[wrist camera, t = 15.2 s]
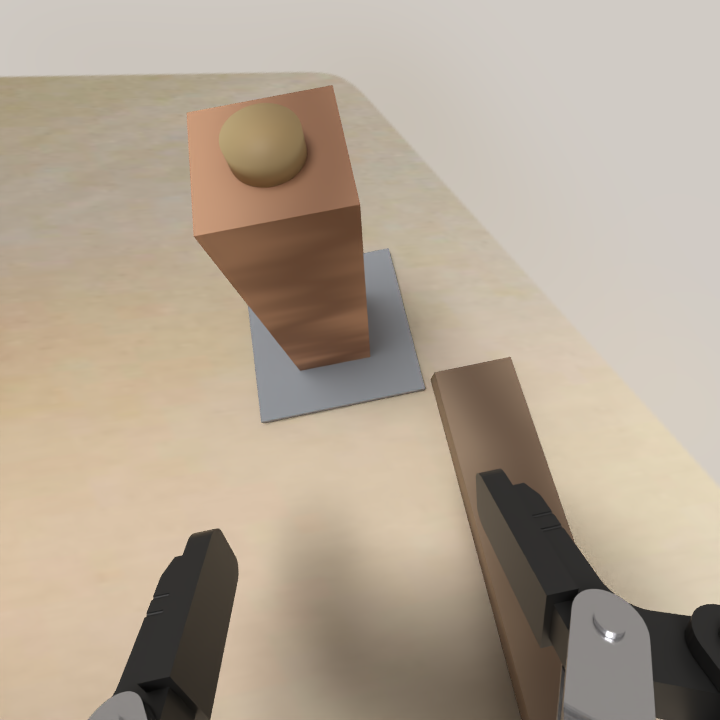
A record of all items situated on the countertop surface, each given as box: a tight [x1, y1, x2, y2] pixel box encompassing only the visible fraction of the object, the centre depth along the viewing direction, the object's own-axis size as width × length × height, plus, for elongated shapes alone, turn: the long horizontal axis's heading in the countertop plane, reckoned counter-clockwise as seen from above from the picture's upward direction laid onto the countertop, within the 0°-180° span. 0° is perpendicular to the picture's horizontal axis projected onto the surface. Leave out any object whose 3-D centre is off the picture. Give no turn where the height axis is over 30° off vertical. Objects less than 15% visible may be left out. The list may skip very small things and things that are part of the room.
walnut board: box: [431, 357, 574, 720], centre depth 16 cm, size 4×18×2 cm, turn 11°
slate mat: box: [248, 248, 425, 423], centre depth 21 cm, size 9×9×1 cm
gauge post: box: [187, 85, 370, 371], centre depth 14 cm, size 4×4×13 cm
